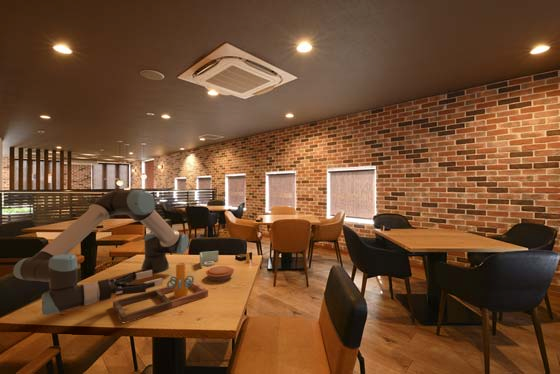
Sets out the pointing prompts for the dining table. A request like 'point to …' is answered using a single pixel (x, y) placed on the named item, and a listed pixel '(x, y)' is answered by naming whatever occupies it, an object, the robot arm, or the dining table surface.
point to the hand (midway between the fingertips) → (157, 276)
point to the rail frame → (160, 307)
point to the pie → (220, 273)
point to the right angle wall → (208, 258)
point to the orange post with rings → (180, 281)
